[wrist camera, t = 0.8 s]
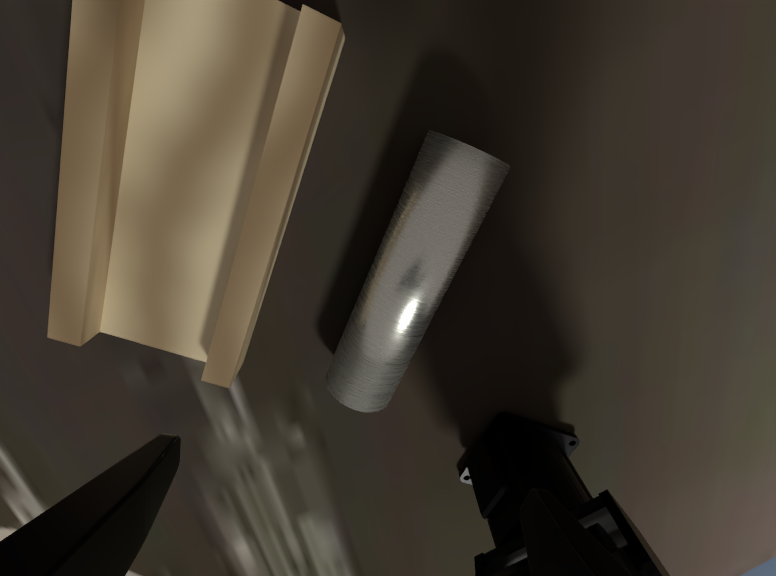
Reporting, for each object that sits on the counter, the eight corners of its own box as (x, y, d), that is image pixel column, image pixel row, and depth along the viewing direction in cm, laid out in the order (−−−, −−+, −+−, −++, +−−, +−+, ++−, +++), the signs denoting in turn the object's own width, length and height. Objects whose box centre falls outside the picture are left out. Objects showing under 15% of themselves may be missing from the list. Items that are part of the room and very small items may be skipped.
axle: (427, 132, 18) (429, 127, 14) (500, 165, 18) (520, 168, 15) (333, 355, 23) (317, 394, 19) (392, 379, 23) (386, 422, 20)
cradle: (345, 38, 16) (341, 23, 14) (243, 361, 22) (229, 388, 20) (126, -70, 14) (80, -108, 12) (83, 314, 21) (47, 337, 18)
